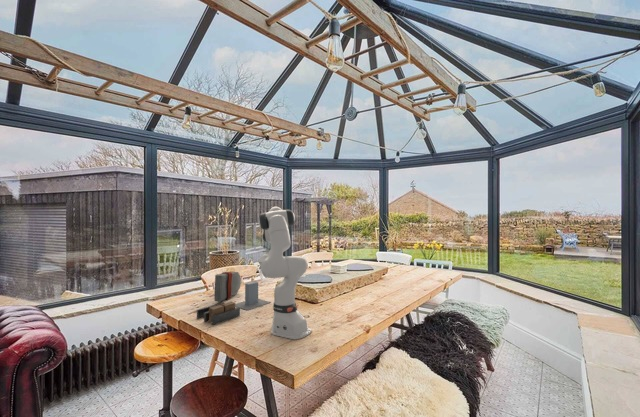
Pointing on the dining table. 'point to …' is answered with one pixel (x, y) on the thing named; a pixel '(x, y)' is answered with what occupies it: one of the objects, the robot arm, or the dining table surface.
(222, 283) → the decorative stone tablet
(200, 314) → the rack
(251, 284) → the panel
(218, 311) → the offcut
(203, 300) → the dining table surface
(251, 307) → the mat
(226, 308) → the offcut
